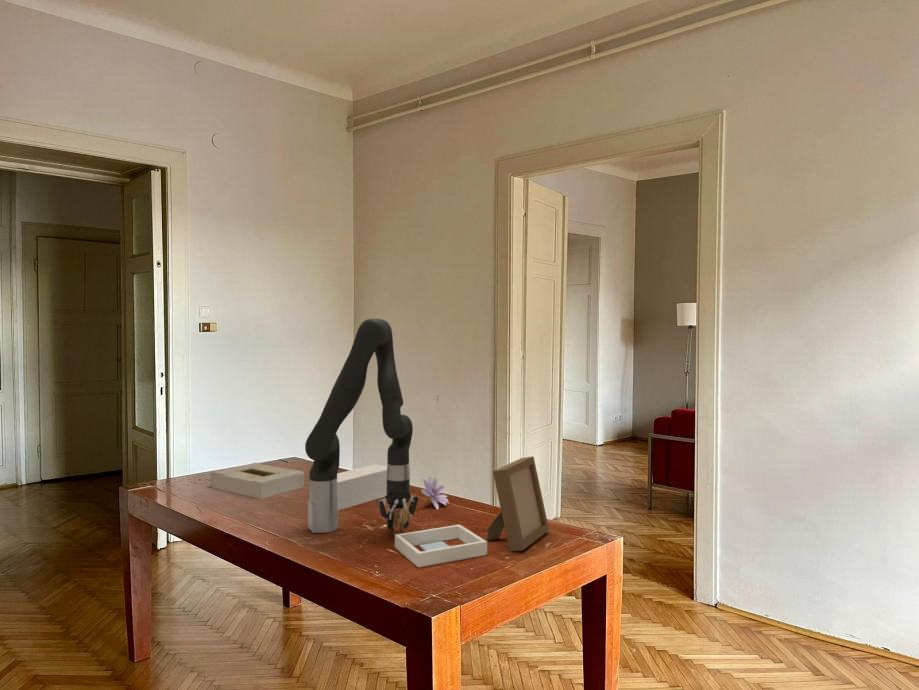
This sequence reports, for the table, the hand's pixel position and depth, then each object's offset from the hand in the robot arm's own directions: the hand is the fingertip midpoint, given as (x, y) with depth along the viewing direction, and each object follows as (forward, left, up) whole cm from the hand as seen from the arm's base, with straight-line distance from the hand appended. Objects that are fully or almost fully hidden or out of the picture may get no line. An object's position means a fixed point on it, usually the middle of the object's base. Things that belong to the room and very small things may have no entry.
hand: (397, 528), depth 217 cm
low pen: (+6, -19, -2) cm, 20 cm away
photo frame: (+32, -20, -3) cm, 38 cm away
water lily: (+26, +26, -3) cm, 37 cm away
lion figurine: (0, +1, -1) cm, 2 cm away
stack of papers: (+1, +47, -3) cm, 48 cm away
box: (-30, +85, -3) cm, 90 cm away
